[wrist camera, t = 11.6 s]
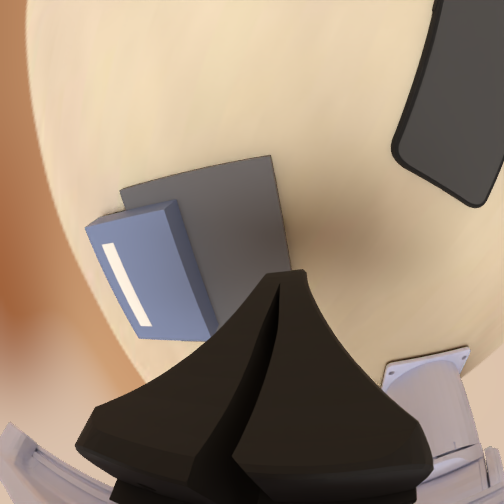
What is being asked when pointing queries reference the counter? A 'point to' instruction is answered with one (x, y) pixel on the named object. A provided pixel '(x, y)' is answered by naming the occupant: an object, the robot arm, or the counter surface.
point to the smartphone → (457, 102)
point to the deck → (154, 272)
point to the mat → (225, 225)
